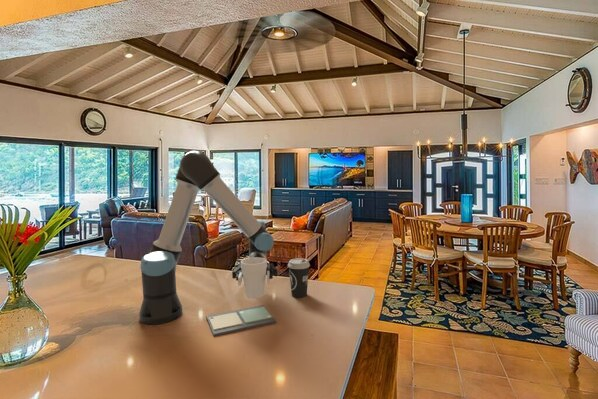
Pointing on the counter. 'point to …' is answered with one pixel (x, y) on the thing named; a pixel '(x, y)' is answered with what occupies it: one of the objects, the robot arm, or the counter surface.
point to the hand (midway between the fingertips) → (253, 280)
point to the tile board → (239, 320)
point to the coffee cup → (298, 276)
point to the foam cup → (254, 276)
